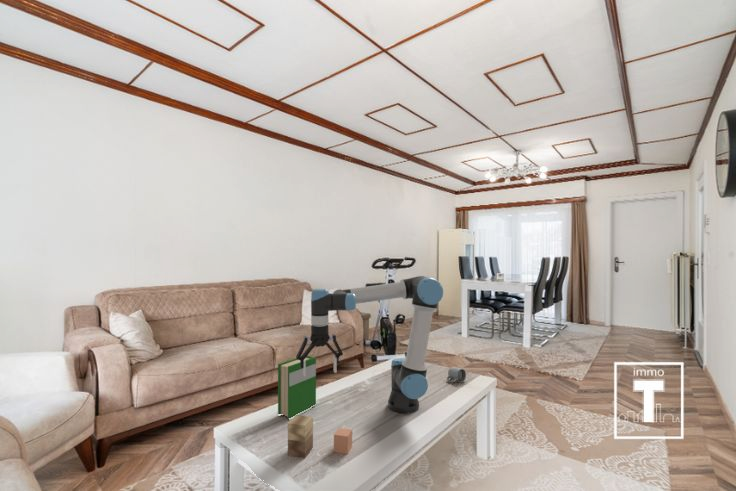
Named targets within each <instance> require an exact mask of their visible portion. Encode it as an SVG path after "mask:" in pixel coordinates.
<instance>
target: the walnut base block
mask: <svg viewBox="0 0 736 491" xmlns="http://www.w3.org/2000/svg"><path fill="white" fill-rule="evenodd" d="M312 448H313V449H314V432H313V433H312V435H311V436H310V437H309V438H308V439H307V440H306V442H302V441H295V440H288V439H287V456H288V457H295V458H301V459H306V458H307V457H308V455H309V454H310V453H311V452H312V450H313V449H312ZM310 451H311V452H310Z"/></svg>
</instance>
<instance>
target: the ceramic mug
mask: <svg viewBox="0 0 736 491" xmlns="http://www.w3.org/2000/svg"><path fill="white" fill-rule="evenodd" d="M447 373H448V376H447V377H446V381H447V383H449V384H453V383H455V382H458V383H464V381H465V380H466V377H467V373H466V370H465V368H461V367H457V366H451V367H449V369H448V371H447ZM449 379H450V380H449Z"/></svg>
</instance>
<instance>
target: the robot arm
mask: <svg viewBox="0 0 736 491" xmlns="http://www.w3.org/2000/svg"><path fill="white" fill-rule="evenodd" d="M310 297H311V298H310V312H311V314H310V323H311V326H310V329H311V330H310V332H311V333H310V336H305V335H304V336H303V341H302V343H301V346H300V348H299V350H298V352H297V353H296V355H295V358H297V360H300V367H301V368H303V376H306V361H305V358H306V357H307V356H309V354H310V353H311V352H312V350H313V349H314V348H315V347H316V348H318V347H319V348H320V347H325V346H326V347H327V348H328V349H329V351H331V352H332V354H333V355H334V356H333V373H335V374H336V373H338V371H337V370H338V369H337V368H338V367H337V366H338V365H339V364H340V357H342V356H343V355H344V353H343V351H342V349H341V348H340V345H339V343H338V341H337V337H336V334H334V333H333V334H331V335H329V333H330V332H329V312H333V311H336V312H337V311H347V312H348V311H353V310H355V309H356V306H357V305H358V304H365V303H373V302H379V301H386V300H392V299H393V300H394V299H400V298H401V299H403V300H407V299H409V300H410V299H411V300H412V301H411V305H412V307H413V308H414V309H413V315H412V321H411V326H410V333H409V338H408V343H407V351H406V356H405V357H398V358H394V359H392V360H391V366H390V368H391V371H390V372H391V376H390V377H391V389H390V390H391V391H390V394H389V397H388V401H387V407H388V409H389V410H391V411H393V412H396V413H401V414H402V413H404V414H406V413H407V414H408V413H409V414H410V413H413V412H416V411H418V410H419V408H420V401H419V399H421V398H422V397H423V396H425V394H426V393H427V391H428V389H429V388H428V386H429V383H428V380H427V378H426V376H427V370H428V367H427V366H426V364H425V362H426V357H427V350H428V344H429V339H430V331H431V325H432V321H433V314H434V312H435V311H436V310H437V309H438V304H439V302H440V301H441V300H442V298H443V297H444V288H443V285H442V284H441V282H440V281H439V280H437V279H435V278H434V277H430V276H429V277H428V276H424V275H418V276H414V277H410V278H404V279H401V280H400V281H398V282H391V283H384V284H376V285H369V286H363V287H355V288H354V287H353V288H347V289H336V290H335V291H333V292H332V293H330V292H329V289H327V288H315V289H312V290H311V296H310ZM329 340H331V341H332V342H333V344H334V346H335V348H336V350H337V351H336V350H335V349H334V348H333V347H332V346H331V345H330V343H329ZM309 342H311V343H310V344H309V346H308V347H306V346H307V344H308V343H309ZM305 349H306V350H305Z"/></svg>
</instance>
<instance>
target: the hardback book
mask: <svg viewBox="0 0 736 491" xmlns="http://www.w3.org/2000/svg"><path fill="white" fill-rule="evenodd" d="M305 361H306V376H303V368H301V367H300V360H297V358H296V357H295V358H292V359H289V360H286V361H283V362H280V363H278V364H277V415H278V414H283V415H285V416H287V417H286V418H287V419H288V418H291V417H293V416H295V415H296V414H298V413H300V412H302V411H304V410H306V409H308V408H310V407H311V406H313V405H315V404H316V405H317V357H316V356H312V355H307V357H306V358H305ZM283 415H282V416H283ZM285 416H284V417H285Z"/></svg>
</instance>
